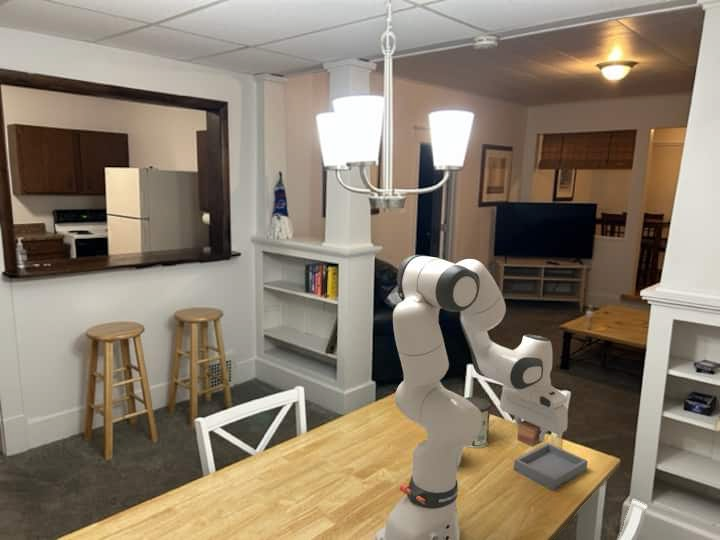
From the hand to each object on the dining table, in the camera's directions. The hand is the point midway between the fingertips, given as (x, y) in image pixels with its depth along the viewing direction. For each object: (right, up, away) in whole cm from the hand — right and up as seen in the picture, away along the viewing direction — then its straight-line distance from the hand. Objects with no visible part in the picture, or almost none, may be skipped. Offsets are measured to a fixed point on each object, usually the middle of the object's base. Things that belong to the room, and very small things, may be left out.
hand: (530, 435), depth 149 cm
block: (0, -2, 0) cm, 2 cm away
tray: (+11, -15, +13) cm, 23 cm away
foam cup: (-20, -15, +18) cm, 31 cm away
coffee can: (-10, -12, +32) cm, 35 cm away
